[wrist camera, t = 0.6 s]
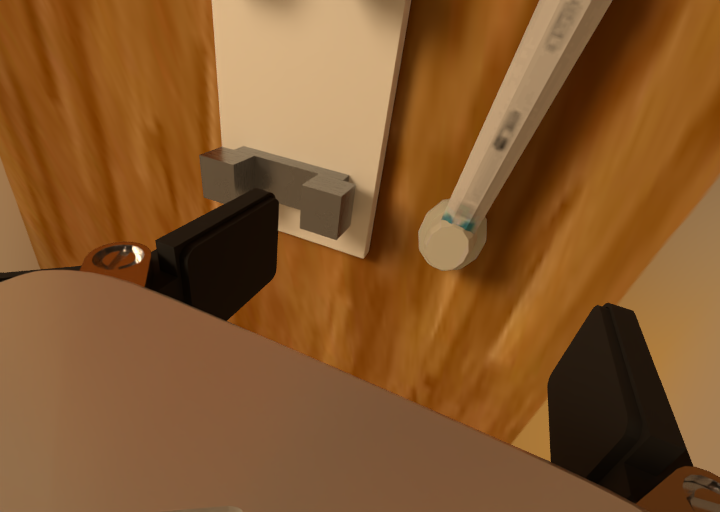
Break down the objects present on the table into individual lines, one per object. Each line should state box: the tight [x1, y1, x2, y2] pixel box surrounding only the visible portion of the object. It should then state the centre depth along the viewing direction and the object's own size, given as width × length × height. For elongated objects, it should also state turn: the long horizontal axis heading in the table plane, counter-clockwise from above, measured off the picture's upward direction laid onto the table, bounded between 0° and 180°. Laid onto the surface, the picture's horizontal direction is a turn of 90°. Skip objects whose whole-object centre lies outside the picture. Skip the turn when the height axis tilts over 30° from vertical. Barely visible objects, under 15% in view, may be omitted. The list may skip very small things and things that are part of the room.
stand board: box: [212, 0, 411, 259], centre depth 31 cm, size 30×16×2 cm, turn 172°
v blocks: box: [199, 146, 356, 240], centre depth 29 cm, size 22×14×4 cm, turn 172°
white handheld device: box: [418, 0, 612, 271], centre depth 26 cm, size 5×7×25 cm
